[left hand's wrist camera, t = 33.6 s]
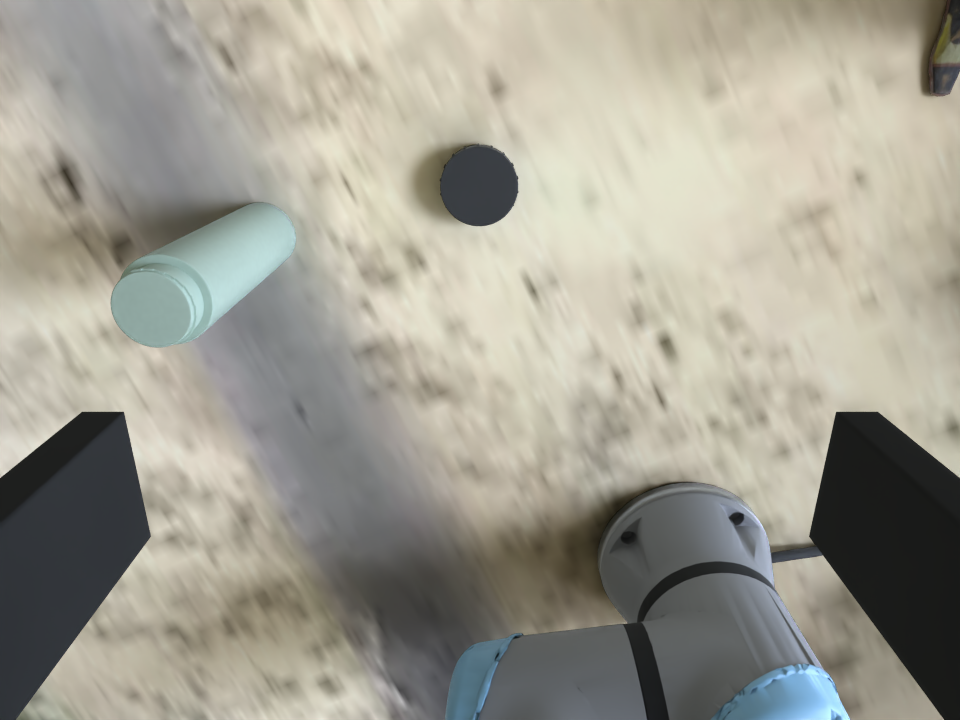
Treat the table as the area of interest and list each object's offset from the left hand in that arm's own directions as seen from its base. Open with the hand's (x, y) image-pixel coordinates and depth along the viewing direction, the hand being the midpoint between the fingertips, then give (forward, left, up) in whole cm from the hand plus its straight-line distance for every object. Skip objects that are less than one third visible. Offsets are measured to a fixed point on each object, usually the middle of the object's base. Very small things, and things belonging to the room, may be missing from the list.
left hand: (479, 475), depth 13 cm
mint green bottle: (+17, 0, -41) cm, 44 cm away
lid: (0, 0, -39) cm, 39 cm away
